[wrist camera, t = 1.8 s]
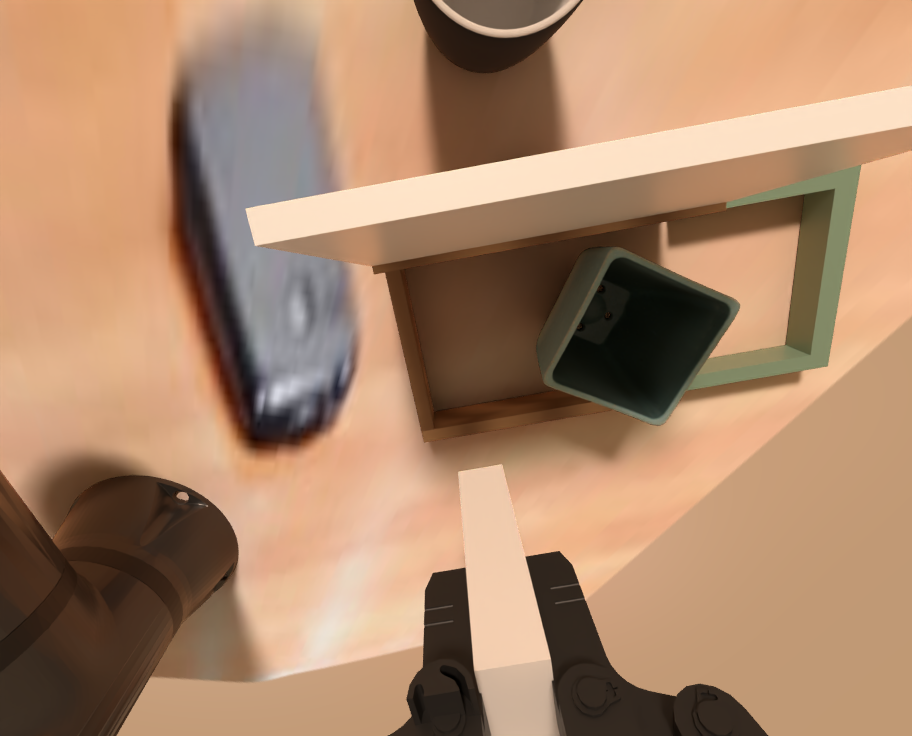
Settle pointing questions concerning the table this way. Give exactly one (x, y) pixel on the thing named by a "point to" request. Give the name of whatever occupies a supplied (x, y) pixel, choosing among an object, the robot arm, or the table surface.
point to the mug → (492, 29)
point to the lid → (589, 183)
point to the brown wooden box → (508, 409)
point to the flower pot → (630, 333)
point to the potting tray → (801, 283)
